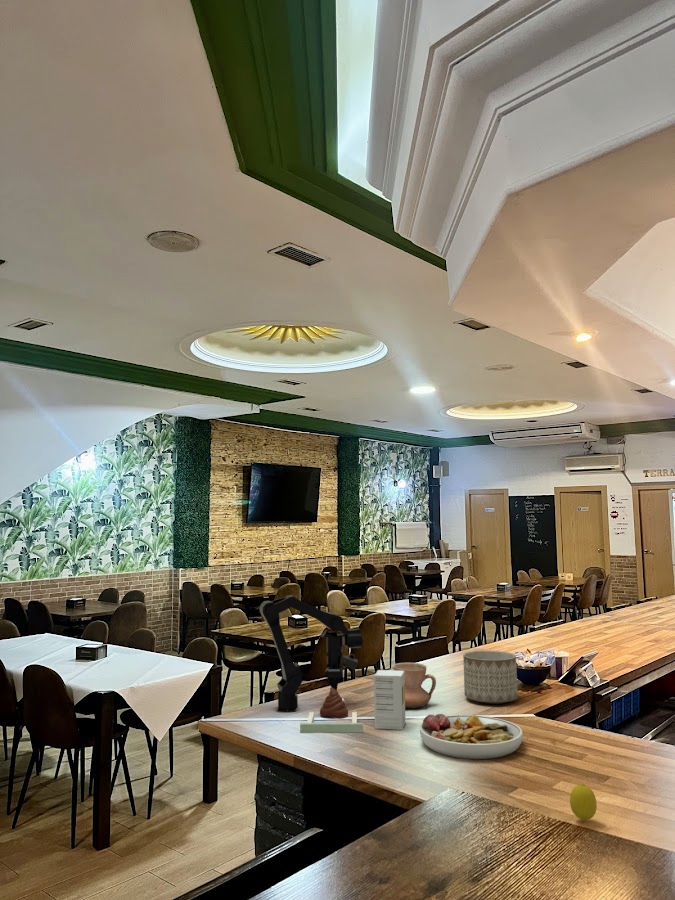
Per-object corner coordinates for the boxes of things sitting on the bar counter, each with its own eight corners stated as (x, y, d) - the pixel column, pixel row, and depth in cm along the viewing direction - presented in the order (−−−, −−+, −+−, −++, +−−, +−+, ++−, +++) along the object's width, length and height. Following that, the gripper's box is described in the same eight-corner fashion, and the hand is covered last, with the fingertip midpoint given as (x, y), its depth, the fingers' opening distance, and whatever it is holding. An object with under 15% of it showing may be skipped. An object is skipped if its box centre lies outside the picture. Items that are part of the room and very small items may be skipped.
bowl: (526, 735, 211) (525, 709, 212) (518, 768, 183) (517, 737, 184) (431, 727, 221) (430, 702, 222) (410, 757, 192) (409, 728, 193)
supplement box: (402, 730, 217) (401, 676, 218) (374, 729, 218) (373, 675, 220) (405, 722, 226) (404, 670, 228) (378, 720, 228) (377, 669, 230)
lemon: (566, 817, 151) (564, 779, 152) (590, 815, 151) (588, 778, 152) (577, 827, 146) (575, 788, 146) (602, 826, 146) (600, 787, 147)
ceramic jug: (386, 710, 240) (386, 669, 242) (386, 699, 255) (386, 661, 256) (437, 712, 239) (437, 670, 240) (434, 701, 253) (434, 662, 255)
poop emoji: (316, 717, 233) (315, 689, 234) (325, 711, 241) (325, 683, 242) (343, 720, 229) (343, 691, 230) (351, 713, 237) (351, 686, 238)
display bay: (300, 732, 216) (300, 724, 216) (303, 719, 230) (303, 712, 230) (363, 732, 215) (362, 724, 215) (362, 719, 229) (362, 711, 230)
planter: (499, 692, 265) (498, 649, 267) (528, 704, 247) (526, 657, 249) (455, 696, 259) (454, 652, 261) (481, 709, 241) (479, 661, 243)
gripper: (356, 653, 241) (357, 699, 239) (356, 644, 259) (356, 686, 258) (325, 653, 241) (325, 699, 239) (327, 644, 260) (327, 686, 258)
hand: (334, 692), depth 249 cm, fingers closed
